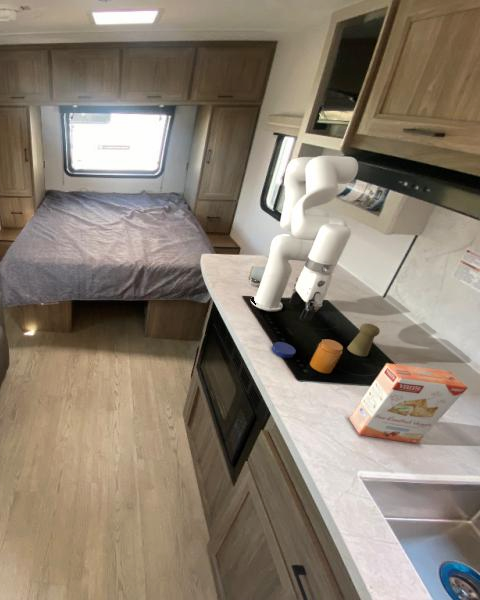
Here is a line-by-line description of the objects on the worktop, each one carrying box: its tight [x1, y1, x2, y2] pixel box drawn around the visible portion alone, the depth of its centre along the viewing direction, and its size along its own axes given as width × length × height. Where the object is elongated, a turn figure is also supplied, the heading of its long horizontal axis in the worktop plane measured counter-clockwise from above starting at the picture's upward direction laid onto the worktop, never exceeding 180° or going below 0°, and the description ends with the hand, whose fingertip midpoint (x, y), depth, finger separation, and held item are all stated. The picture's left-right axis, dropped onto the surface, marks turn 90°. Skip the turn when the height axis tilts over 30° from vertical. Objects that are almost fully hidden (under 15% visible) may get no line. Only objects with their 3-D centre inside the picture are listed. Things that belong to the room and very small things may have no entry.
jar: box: [309, 338, 344, 374], centre depth 107 cm, size 6×6×10 cm
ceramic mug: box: [248, 265, 266, 287], centre depth 161 cm, size 11×8×8 cm
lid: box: [271, 341, 297, 359], centre depth 116 cm, size 7×7×2 cm
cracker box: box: [348, 362, 468, 445], centre depth 83 cm, size 14×6×21 cm, turn 80°
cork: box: [346, 322, 381, 357], centre depth 115 cm, size 6×6×11 cm
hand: (299, 311), depth 109 cm, fingers open, 9 cm apart
